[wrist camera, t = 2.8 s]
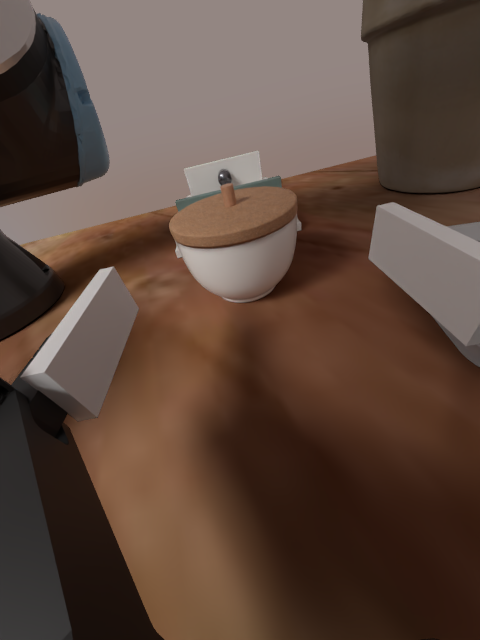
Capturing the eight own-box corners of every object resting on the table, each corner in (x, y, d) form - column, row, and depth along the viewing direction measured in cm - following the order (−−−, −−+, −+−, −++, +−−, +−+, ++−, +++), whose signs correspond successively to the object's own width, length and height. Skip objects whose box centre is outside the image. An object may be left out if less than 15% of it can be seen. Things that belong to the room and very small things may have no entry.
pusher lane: (301, 230, 32) (299, 170, 28) (177, 258, 33) (156, 204, 29) (270, 190, 49) (266, 148, 44) (188, 209, 50) (176, 170, 45)
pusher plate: (283, 218, 33) (280, 177, 30) (188, 240, 34) (175, 202, 30) (282, 216, 34) (279, 175, 30) (188, 237, 34) (176, 200, 31)
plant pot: (448, 149, 46) (508, -45, 32) (625, 171, 28) (955, -272, 13) (321, 182, 46) (326, 1, 32) (413, 226, 27) (521, -162, 13)
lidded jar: (204, 266, 30) (176, 182, 24) (292, 252, 28) (287, 158, 22) (188, 326, 22) (141, 222, 16) (309, 310, 20) (309, 189, 14)
